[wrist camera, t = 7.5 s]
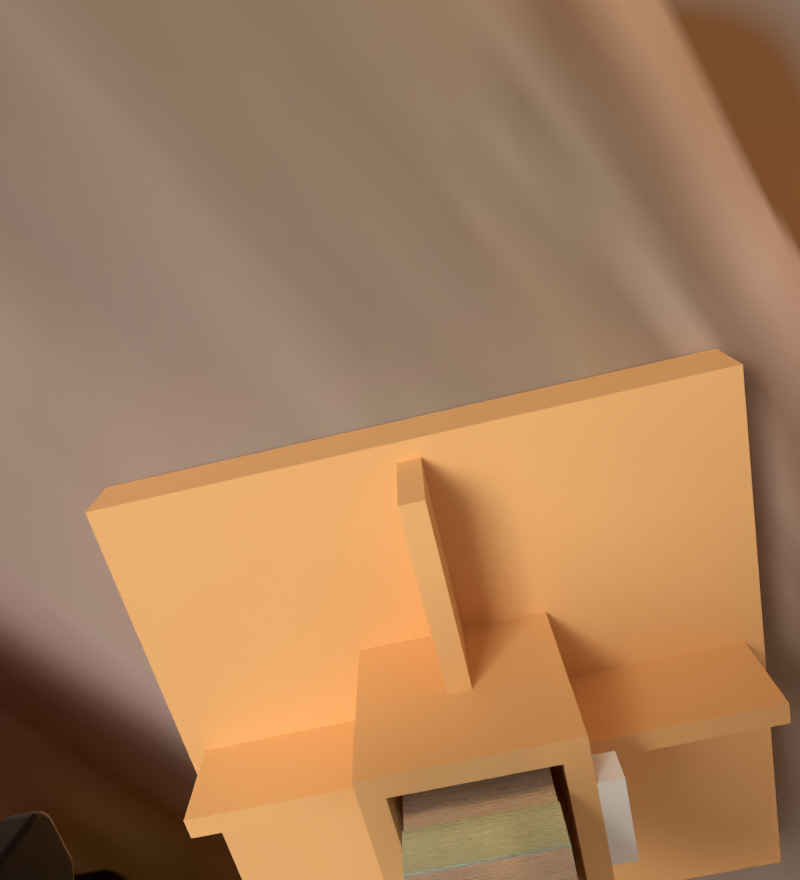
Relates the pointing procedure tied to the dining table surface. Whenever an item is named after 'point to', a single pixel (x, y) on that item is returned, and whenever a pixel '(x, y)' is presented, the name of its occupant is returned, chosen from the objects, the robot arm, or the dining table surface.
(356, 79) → the dining table surface
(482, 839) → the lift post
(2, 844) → the robot arm
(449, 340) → the dining table surface
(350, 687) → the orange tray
